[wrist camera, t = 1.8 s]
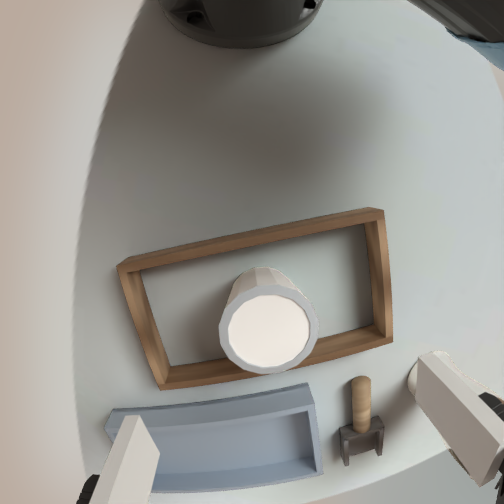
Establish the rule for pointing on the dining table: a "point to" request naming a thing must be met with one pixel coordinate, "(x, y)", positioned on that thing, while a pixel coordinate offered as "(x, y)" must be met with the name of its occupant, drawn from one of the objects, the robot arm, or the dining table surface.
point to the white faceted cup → (267, 322)
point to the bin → (231, 441)
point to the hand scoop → (361, 423)
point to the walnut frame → (369, 216)
